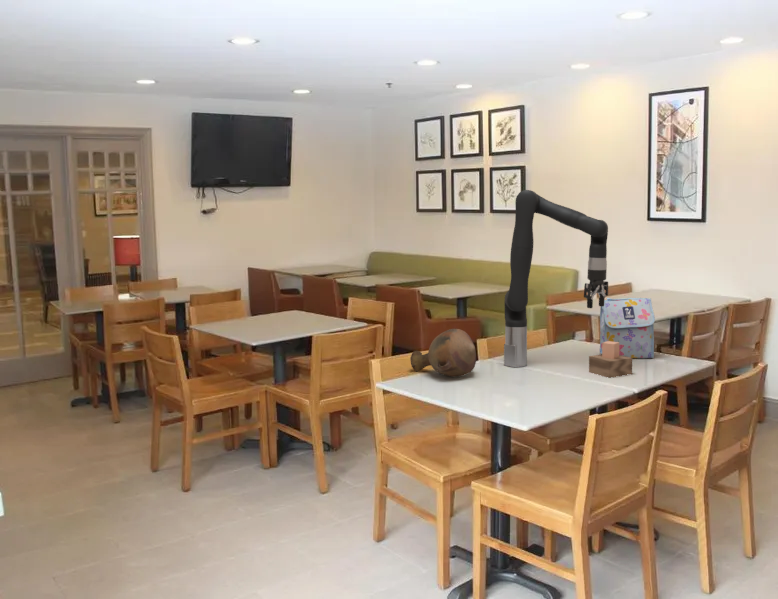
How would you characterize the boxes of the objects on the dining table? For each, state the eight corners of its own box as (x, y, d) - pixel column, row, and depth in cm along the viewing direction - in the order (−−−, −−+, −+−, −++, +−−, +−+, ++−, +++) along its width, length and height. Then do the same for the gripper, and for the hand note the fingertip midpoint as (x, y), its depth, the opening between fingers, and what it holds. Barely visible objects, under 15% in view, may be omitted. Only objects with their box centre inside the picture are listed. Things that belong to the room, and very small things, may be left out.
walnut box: (609, 378, 308) (609, 361, 308) (588, 372, 319) (589, 356, 318) (631, 374, 314) (632, 358, 313) (611, 369, 324) (611, 352, 323)
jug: (488, 376, 316) (431, 378, 336) (486, 328, 318) (430, 333, 338) (457, 375, 301) (400, 377, 321) (456, 325, 303) (399, 330, 323)
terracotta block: (613, 358, 312) (614, 344, 311) (602, 357, 315) (602, 342, 314) (619, 356, 316) (619, 342, 315) (607, 355, 319) (607, 340, 318)
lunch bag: (603, 360, 340) (604, 301, 336) (596, 352, 357) (597, 296, 353) (656, 360, 338) (657, 300, 335) (646, 352, 355) (647, 295, 351)
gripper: (595, 270, 312) (593, 309, 314) (614, 268, 321) (613, 306, 324) (579, 268, 318) (578, 307, 320) (599, 266, 327) (597, 304, 329)
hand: (595, 307), depth 322 cm, fingers open, 8 cm apart
